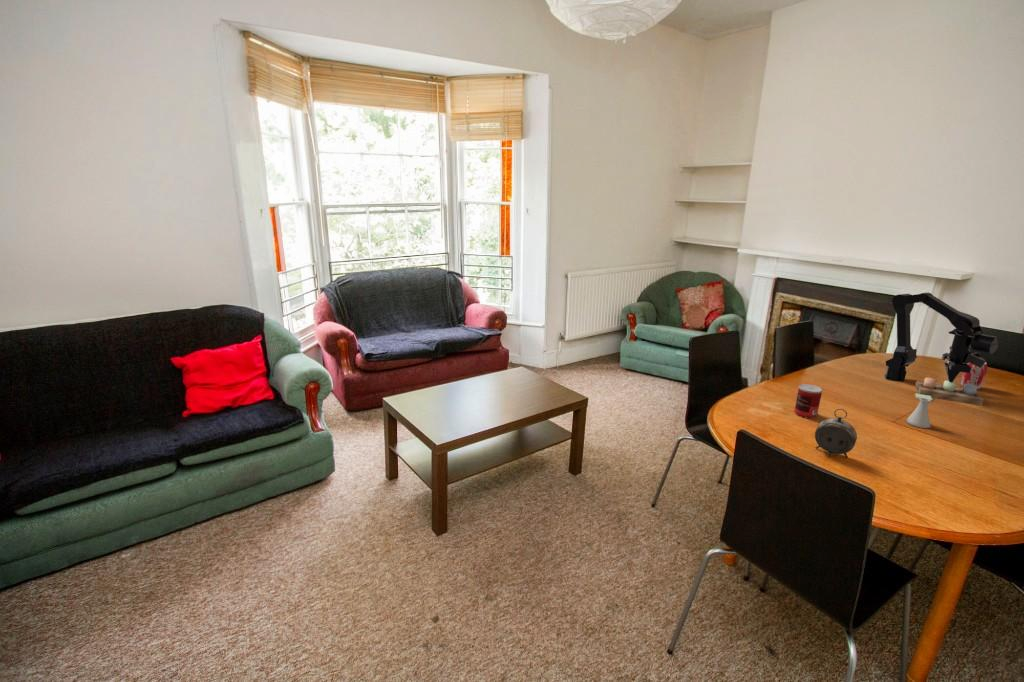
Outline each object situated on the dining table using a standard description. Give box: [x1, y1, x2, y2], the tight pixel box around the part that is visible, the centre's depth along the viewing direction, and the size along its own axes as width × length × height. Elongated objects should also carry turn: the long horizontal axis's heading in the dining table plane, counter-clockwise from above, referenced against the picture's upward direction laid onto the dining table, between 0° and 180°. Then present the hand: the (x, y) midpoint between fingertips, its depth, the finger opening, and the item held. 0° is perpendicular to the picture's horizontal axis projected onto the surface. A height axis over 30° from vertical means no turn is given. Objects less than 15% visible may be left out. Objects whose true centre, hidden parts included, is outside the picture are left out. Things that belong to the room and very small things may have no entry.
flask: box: [906, 398, 931, 429], centre depth 179 cm, size 7×7×10 cm
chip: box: [914, 392, 933, 402], centre depth 204 cm, size 5×5×1 cm
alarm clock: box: [814, 408, 858, 459], centre depth 156 cm, size 11×5×16 cm, turn 49°
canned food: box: [793, 383, 823, 419], centre depth 186 cm, size 8×8×11 cm
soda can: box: [960, 361, 988, 390], centre depth 215 cm, size 7×7×12 cm
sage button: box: [942, 379, 958, 392], centre depth 206 cm, size 4×4×4 cm
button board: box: [914, 380, 984, 406], centre depth 207 cm, size 20×12×2 cm, turn 59°
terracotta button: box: [923, 377, 938, 389], centre depth 209 cm, size 4×4×4 cm
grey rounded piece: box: [962, 384, 978, 396], centre depth 203 cm, size 4×4×4 cm
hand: (950, 381), depth 205 cm, fingers closed
